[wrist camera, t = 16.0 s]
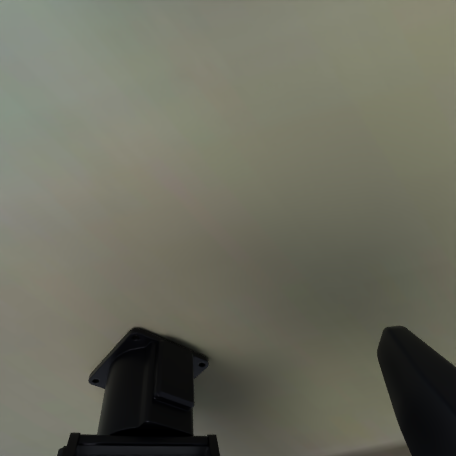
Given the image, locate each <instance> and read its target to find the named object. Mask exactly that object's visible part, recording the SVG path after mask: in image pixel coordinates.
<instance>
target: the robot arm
mask: <svg viewBox="0 0 456 456" xmlns="http://www.w3.org/2000/svg"><path fill="white" fill-rule="evenodd" d="M135 335H137V336H135ZM377 357H378V361H379V364H380V367H381V371H382V374H383V377H384V380H385V383H386V387H387V390H388V393H389V396H390V399H391V402H392V406H393V409H394V412H395V415H396V418H397V421H398V424H399V426H400V429H401V431H402V434H403V436H404V439H405V441H406V443H407V446H408V448H409V450H410V453H411V455H412V456H456V367H455V366H454V365H452V364H451V363H450V362H449V361H447V360H446V359H445V358H444V357H442V356H441V355H440V354H439V353H437V352H436V351H435V350H433V349H432V348H431V347H430V346H428V345H427V344H426V343H425V342H423V341H422V340H421V339H420V338H418V337H417V336H416V335H414V334H413V333H412V332H411V331H409V330H408V329H407V328H405V327H403V326H392V327H386V328H385V329H384V330H383V332H382V336H381V339H380V342H379V346H378V349H377ZM208 365H209V362H208V358H207V357H206V356H203V355H201V354H198V353H196V352H194V351H191V350H189V349H187V348H184V347H182V346H179V345H177V344H175V343H172V342H170V341H168V340H165V339H163V338H160V337H158V336H156V335H153V334H151V333H149V332H146V331H144V330H141V329H138V328H134V329H132V330H130V331H129V332H128V333H127V334H126V336H125V337H124V338H123V339H122V340H121V341H120V342H119V343H118V344H117V345H116V346H115V348H114V349H113V350H112V351H111V352H110V353H109V354H108V355H107V356H106V357H105V359H104V360H103V361H102V362H101V363H100V364H99V365H98V366H97V367H96V368H95V370H94V371H93V372H92V373H91V374H90V376H89V383H90V384H92V385H95V386H98V387H101V388H104V389H105V393H104V399H103V404H102V410H101V416H100V421H99V427H98V433H97V435H80V433H71V434H70V437H69V440H68V444H67V446H64V447H63V448H61V449H59V451H58V455H57V456H220V453H219V448H218V442H217V437H216V435H207V436H193V407H194V379H195V378H196V377H197V376H198V375H199V374H200V373H201V372H202V371H203V370H205V369H206V368H207V367H208Z"/></svg>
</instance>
